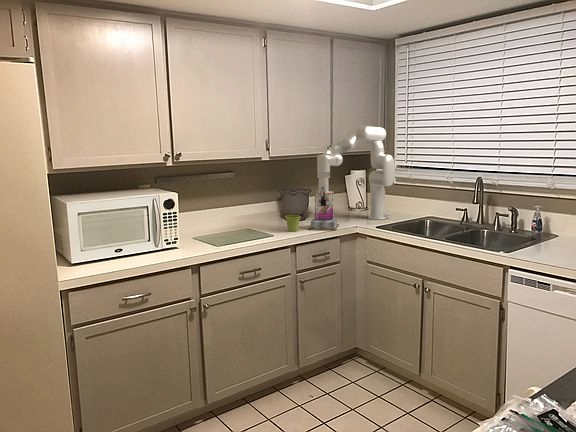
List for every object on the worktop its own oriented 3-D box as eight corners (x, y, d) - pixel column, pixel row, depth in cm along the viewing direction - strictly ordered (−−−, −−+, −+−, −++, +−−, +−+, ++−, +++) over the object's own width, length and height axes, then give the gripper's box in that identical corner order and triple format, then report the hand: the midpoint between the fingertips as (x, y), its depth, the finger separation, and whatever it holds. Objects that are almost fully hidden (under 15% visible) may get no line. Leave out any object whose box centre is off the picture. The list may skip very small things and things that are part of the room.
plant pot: (289, 228, 296) (289, 214, 295) (303, 229, 292) (303, 215, 290) (282, 231, 288) (282, 217, 287) (296, 232, 284) (296, 218, 282)
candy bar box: (315, 219, 294) (314, 192, 291) (315, 217, 299) (314, 191, 296) (333, 219, 293) (333, 192, 290) (333, 217, 298) (333, 191, 295)
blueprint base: (339, 225, 302) (339, 217, 302) (335, 230, 287) (335, 222, 286) (313, 224, 306) (313, 217, 305) (308, 229, 291) (308, 222, 290)
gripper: (320, 173, 300) (320, 202, 303) (314, 176, 284) (315, 207, 287) (332, 173, 298) (332, 203, 302) (327, 176, 282) (328, 207, 285)
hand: (324, 204), depth 294 cm, fingers closed on candy bar box, 5 cm apart
